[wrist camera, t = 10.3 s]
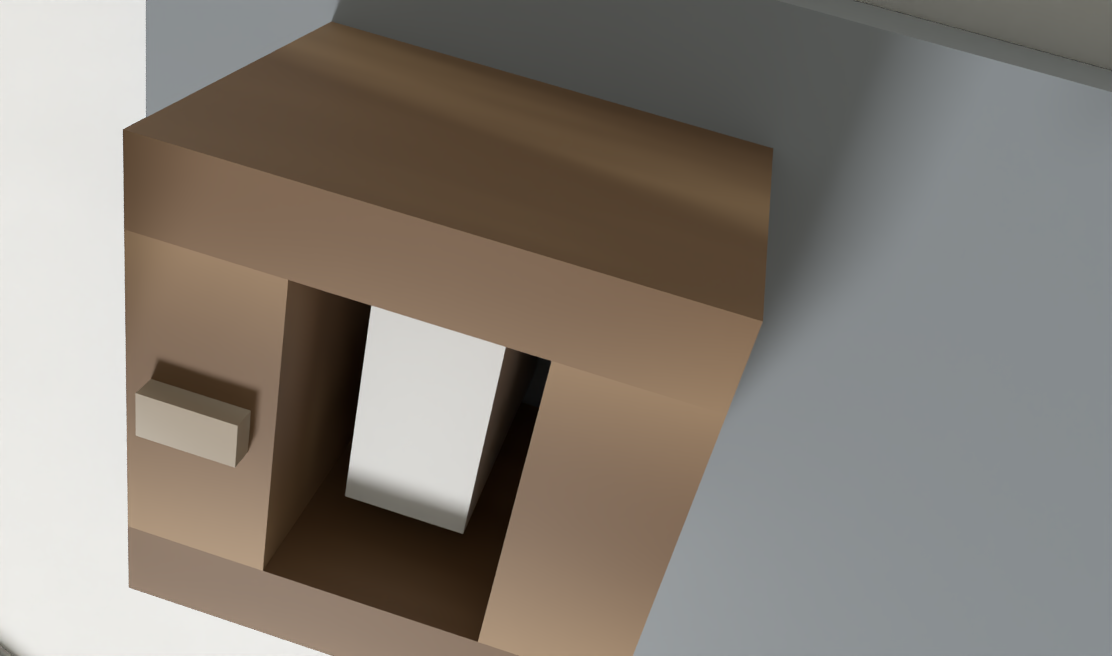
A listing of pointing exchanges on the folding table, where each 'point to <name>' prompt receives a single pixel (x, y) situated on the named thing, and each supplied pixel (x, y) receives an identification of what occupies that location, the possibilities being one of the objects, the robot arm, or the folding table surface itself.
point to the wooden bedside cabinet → (440, 299)
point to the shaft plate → (807, 317)
